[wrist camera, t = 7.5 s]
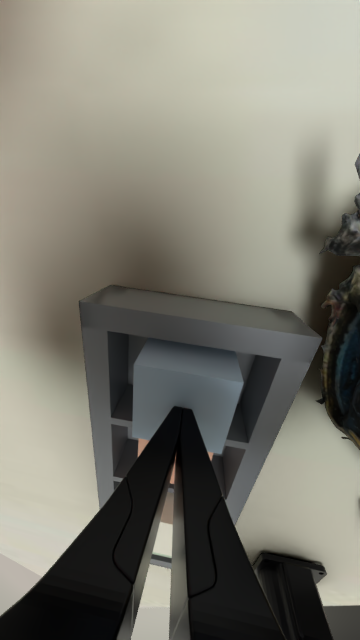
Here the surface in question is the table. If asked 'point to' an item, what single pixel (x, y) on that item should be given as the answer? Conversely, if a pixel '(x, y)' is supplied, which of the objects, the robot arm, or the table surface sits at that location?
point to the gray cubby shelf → (204, 330)
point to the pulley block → (344, 334)
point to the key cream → (165, 528)
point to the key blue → (186, 388)
